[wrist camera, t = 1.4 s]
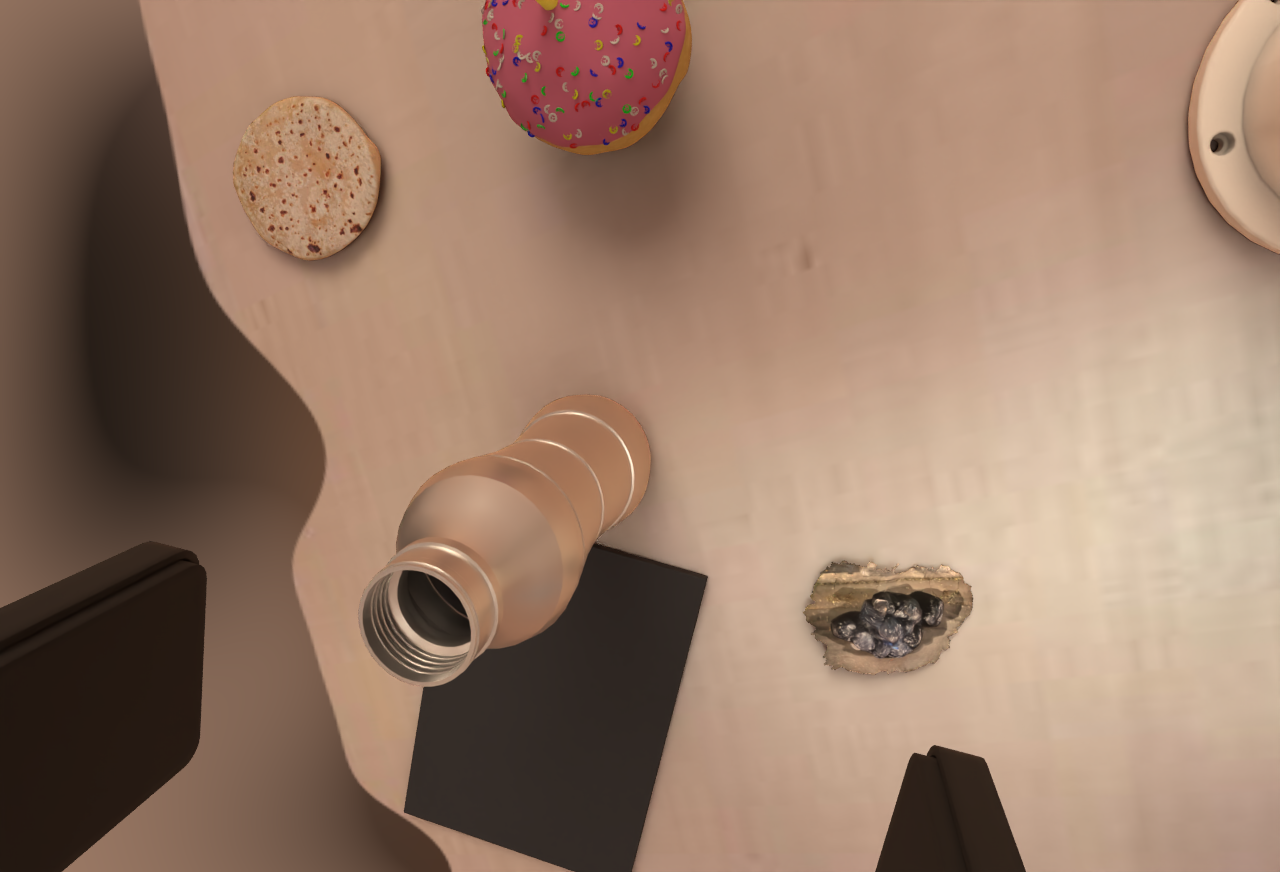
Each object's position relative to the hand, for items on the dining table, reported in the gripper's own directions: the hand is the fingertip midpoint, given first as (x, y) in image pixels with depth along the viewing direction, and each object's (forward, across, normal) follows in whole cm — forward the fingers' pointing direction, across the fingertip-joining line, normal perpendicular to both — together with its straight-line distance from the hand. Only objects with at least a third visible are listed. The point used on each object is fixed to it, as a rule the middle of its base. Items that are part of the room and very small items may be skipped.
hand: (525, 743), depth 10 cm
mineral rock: (+31, -10, +10) cm, 34 cm away
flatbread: (+31, +22, -6) cm, 39 cm away
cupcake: (+31, +8, -13) cm, 34 cm away
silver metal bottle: (+31, +6, +5) cm, 32 cm away
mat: (+31, +6, +20) cm, 37 cm away
